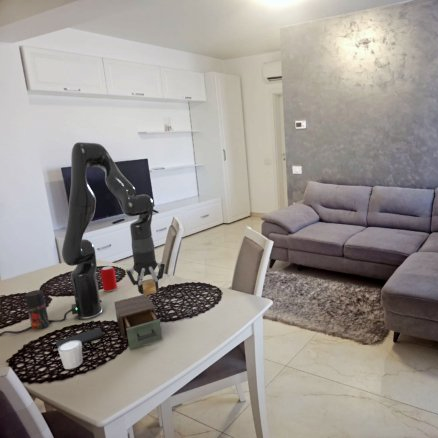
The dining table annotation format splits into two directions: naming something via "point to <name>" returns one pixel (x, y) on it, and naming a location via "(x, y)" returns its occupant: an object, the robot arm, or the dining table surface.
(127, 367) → the dining table surface
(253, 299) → the dining table surface
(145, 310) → the cabinet
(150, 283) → the block
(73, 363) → the white cup
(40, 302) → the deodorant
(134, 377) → the dining table surface
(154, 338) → the drawer
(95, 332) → the phone
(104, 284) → the beverage can
